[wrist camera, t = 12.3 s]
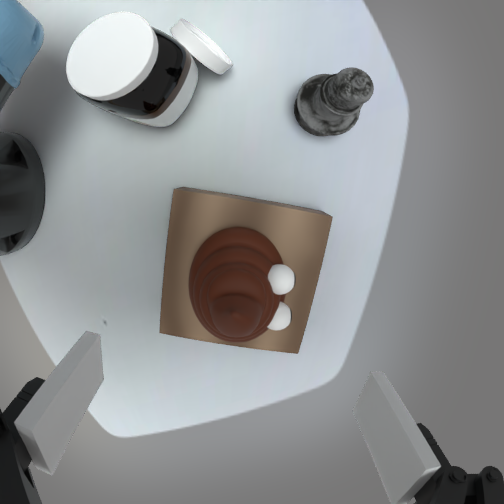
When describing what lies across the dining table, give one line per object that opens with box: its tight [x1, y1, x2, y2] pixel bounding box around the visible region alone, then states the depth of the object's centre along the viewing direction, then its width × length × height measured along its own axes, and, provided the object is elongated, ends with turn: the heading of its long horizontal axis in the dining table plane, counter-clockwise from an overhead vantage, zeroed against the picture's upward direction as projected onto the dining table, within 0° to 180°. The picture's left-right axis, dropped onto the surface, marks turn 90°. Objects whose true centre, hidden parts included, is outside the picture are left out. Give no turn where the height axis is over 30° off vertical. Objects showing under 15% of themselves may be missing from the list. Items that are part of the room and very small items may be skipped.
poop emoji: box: [188, 227, 296, 343], centre depth 24 cm, size 10×8×9 cm
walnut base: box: [160, 187, 332, 354], centre depth 30 cm, size 14×14×4 cm
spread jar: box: [66, 12, 233, 127], centre depth 21 cm, size 12×11×12 cm
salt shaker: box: [294, 68, 374, 136], centre depth 22 cm, size 6×6×12 cm
